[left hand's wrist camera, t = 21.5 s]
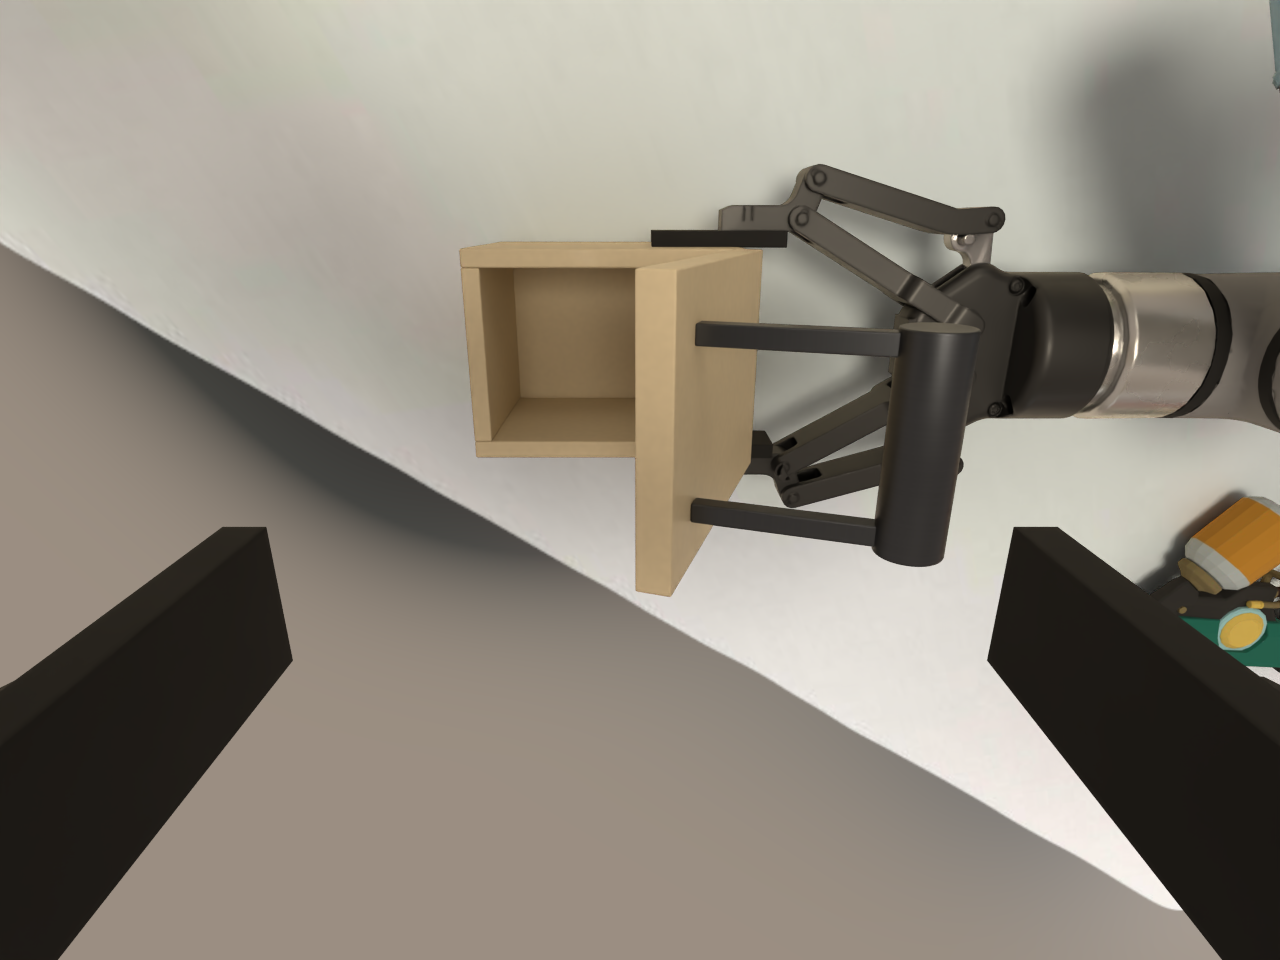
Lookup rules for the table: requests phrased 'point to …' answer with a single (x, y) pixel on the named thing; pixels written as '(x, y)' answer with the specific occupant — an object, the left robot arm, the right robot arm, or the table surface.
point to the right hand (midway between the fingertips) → (650, 346)
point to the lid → (723, 418)
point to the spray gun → (1233, 582)
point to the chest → (555, 344)
